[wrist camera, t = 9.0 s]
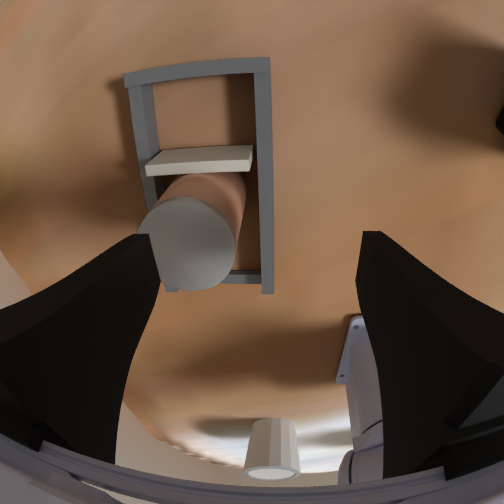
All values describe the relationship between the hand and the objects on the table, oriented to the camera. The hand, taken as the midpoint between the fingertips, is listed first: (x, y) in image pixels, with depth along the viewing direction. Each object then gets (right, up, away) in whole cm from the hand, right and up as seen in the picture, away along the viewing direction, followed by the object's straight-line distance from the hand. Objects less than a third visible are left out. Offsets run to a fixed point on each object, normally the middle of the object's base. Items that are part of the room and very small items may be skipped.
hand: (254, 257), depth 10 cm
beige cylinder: (+3, -22, +26) cm, 34 cm away
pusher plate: (-3, +6, +8) cm, 10 cm away
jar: (-3, +4, +9) cm, 10 cm away
